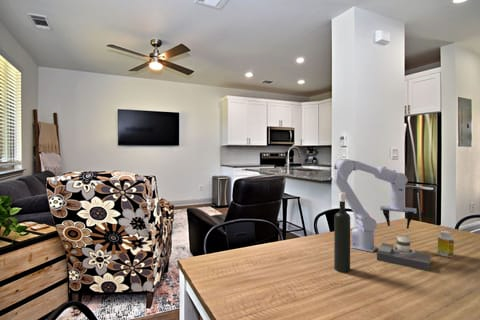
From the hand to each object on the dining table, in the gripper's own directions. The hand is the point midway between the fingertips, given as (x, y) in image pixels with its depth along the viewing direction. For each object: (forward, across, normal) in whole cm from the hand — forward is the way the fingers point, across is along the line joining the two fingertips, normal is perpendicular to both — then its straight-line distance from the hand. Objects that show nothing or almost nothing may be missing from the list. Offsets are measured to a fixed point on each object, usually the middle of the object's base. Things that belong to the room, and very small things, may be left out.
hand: (398, 226), depth 123 cm
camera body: (+10, +3, -14) cm, 18 cm away
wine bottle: (+10, -17, -37) cm, 42 cm away
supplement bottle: (+11, +18, +2) cm, 21 cm away
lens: (+7, +2, -15) cm, 17 cm away
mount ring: (+7, +3, -14) cm, 16 cm away
